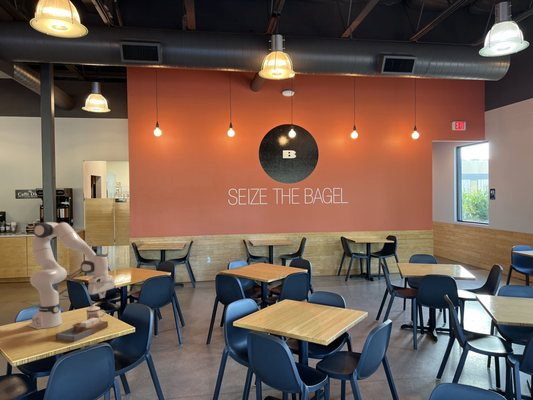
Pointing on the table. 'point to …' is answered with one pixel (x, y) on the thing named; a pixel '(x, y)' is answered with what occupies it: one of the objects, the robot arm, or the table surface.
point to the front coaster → (86, 323)
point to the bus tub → (72, 335)
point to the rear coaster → (94, 320)
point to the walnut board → (92, 327)
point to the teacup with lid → (94, 312)
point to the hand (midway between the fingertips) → (102, 297)
